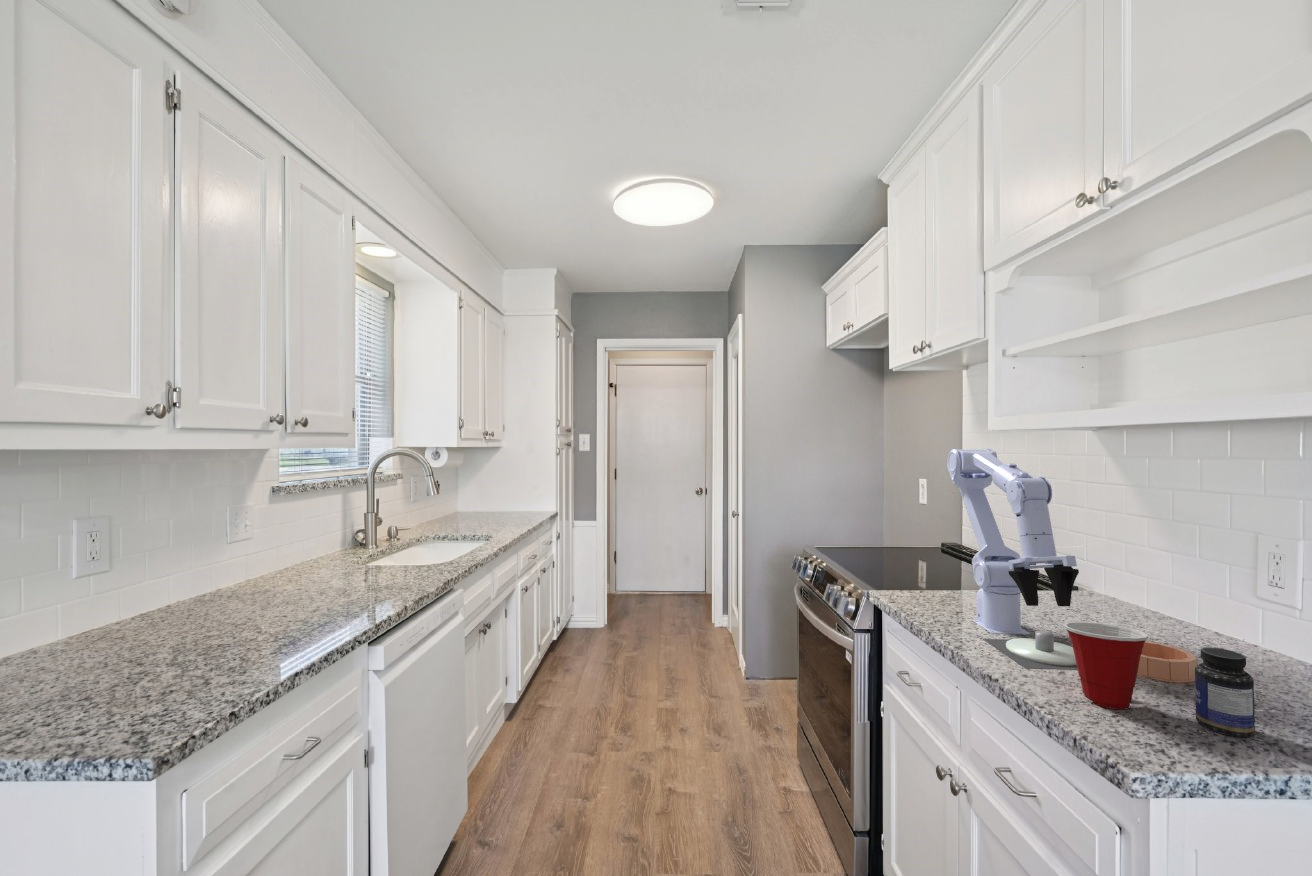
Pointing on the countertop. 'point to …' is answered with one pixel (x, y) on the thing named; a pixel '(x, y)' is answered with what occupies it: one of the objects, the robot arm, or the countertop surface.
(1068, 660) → the lid
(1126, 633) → the plastic cup
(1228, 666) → the pill bottle
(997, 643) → the mat
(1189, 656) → the bowl
